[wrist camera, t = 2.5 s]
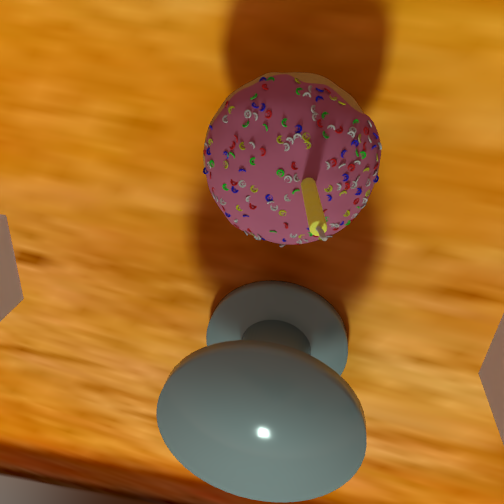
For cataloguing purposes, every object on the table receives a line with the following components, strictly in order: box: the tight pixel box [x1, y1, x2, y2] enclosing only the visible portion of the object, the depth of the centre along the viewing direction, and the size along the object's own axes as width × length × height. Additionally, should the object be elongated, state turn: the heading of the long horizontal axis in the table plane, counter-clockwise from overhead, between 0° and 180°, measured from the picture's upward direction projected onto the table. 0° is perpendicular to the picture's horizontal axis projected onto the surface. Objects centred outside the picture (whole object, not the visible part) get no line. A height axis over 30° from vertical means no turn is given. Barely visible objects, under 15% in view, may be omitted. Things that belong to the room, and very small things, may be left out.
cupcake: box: [203, 72, 382, 247], centre depth 22 cm, size 9×8×12 cm
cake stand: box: [157, 281, 366, 502], centre depth 31 cm, size 12×12×8 cm
